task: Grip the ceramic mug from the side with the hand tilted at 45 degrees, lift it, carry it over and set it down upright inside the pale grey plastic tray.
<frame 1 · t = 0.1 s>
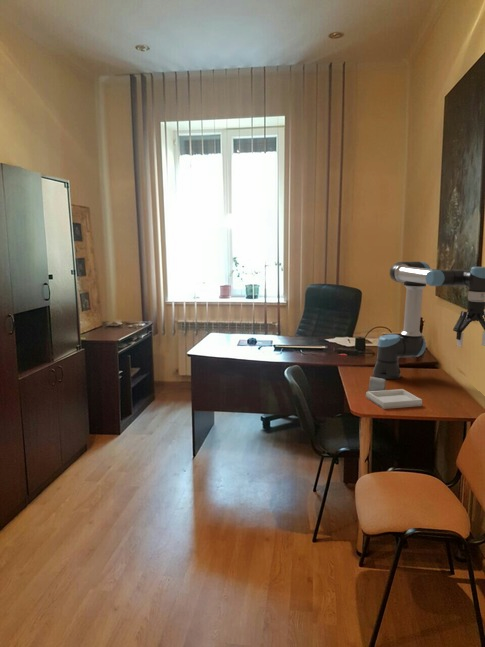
hand: (471, 346, 215), 28 cm above the table, tool pointing down, fingers open, 13 cm apart
ceramic mug: (376, 391, 236), on the table
tray: (393, 401, 221), on the table
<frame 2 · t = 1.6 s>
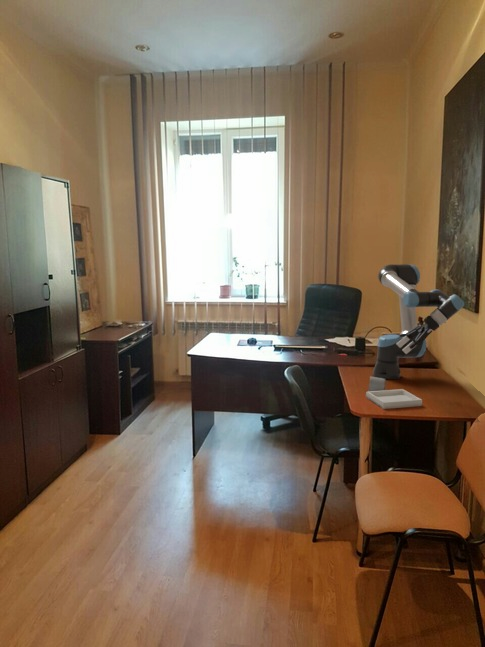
hand: (400, 349, 231), 23 cm above the table, tool tilted 45°, fingers open, 13 cm apart
nothing on the table moved.
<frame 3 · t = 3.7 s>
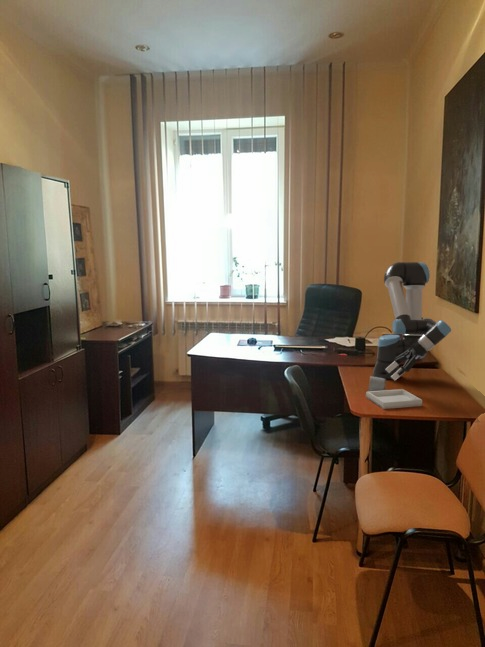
hand: (389, 375, 232), 9 cm above the table, tool tilted 45°, fingers open, 13 cm apart
nothing on the table moved.
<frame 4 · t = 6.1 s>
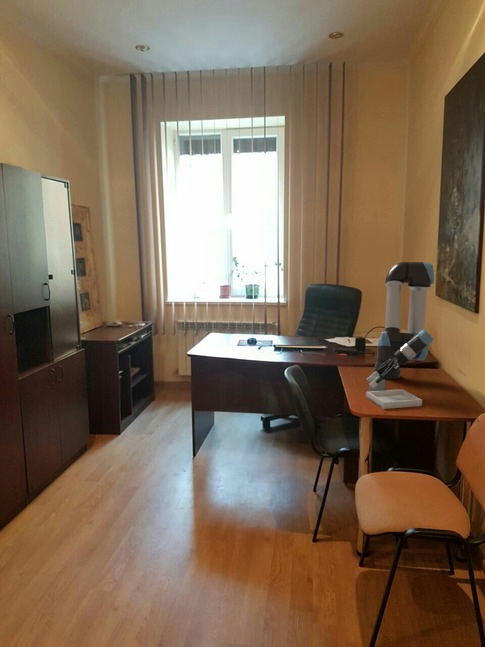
hand: (369, 383, 236), 4 cm above the table, tool tilted 45°, fingers closed on ceramic mug, 8 cm apart
ceramic mug: (376, 390, 237), on the table, touching gripper
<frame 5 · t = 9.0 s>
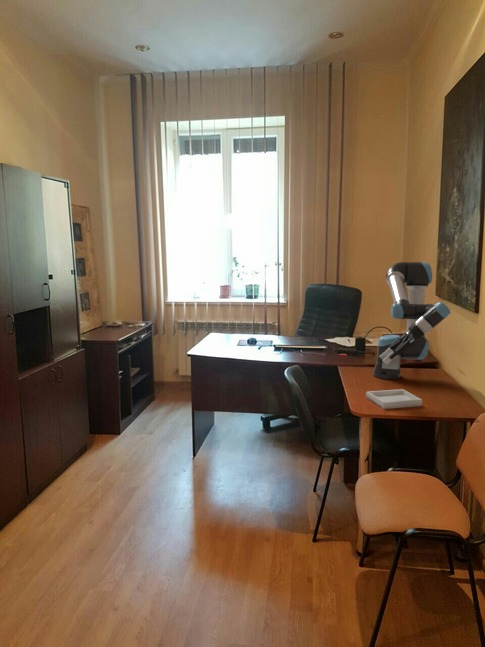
hand: (382, 360, 222), 19 cm above the table, tool tilted 45°, fingers closed on ceramic mug, 8 cm apart
ceramic mug: (390, 368, 223), point 15 cm above the table, touching gripper
when the fingers open (6 cm above the table, at t = 11.9 s): ceramic mug drops 1 cm, resting on tray.
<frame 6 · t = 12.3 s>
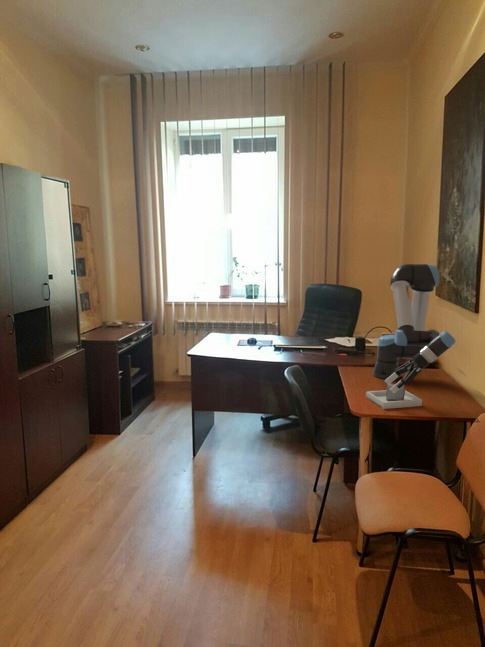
hand: (388, 387, 220), 7 cm above the table, tool tilted 45°, fingers open, 13 cm apart
ceramic mug: (393, 399, 221), point 1 cm above the table, touching tray
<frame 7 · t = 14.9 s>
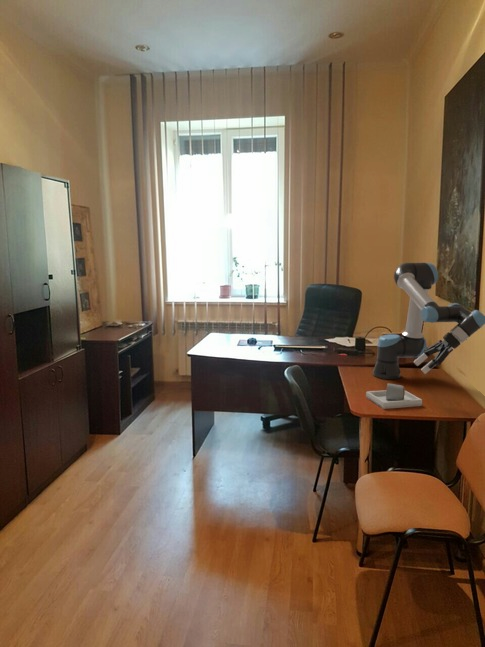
hand: (418, 367, 217), 17 cm above the table, tool tilted 45°, fingers open, 13 cm apart
nothing on the table moved.
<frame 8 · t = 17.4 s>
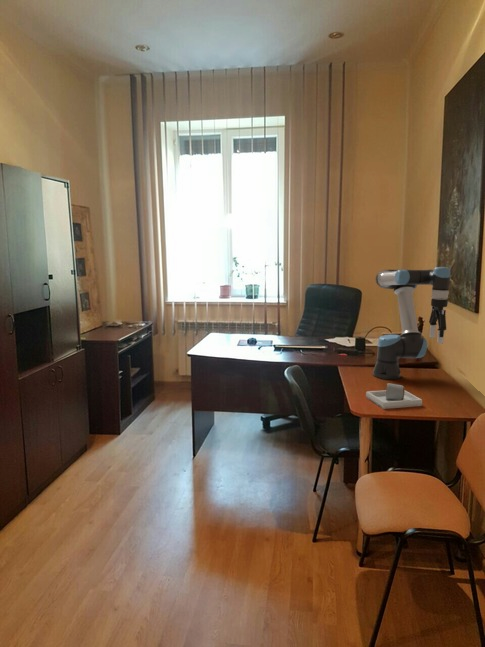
hand: (435, 340, 232), 27 cm above the table, tool pointing down, fingers open, 13 cm apart
nothing on the table moved.
at the end: ceramic mug inside the target area on the tray (1.6 cm from its centre), point 0.8 cm above the tray's base; ceramic mug tilted 0°; the gripper is holding nothing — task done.
